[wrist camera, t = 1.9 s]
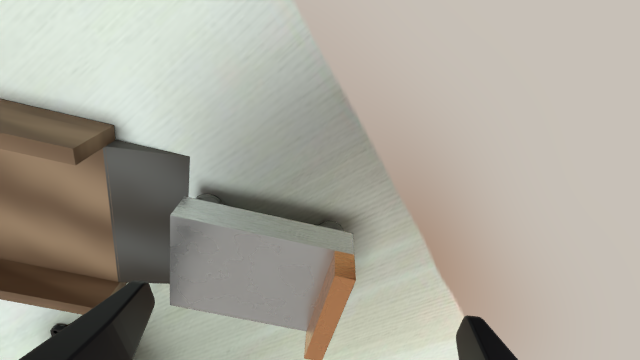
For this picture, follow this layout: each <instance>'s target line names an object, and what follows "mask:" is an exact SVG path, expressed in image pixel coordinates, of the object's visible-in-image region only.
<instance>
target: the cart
mask: <svg viewBox="0 0 640 360" xmlns="http://www.w3.org/2000/svg"><path fill="white" fill-rule="evenodd" d="M355 281H356V275H355V260H354V245H353V233H349V232H344V230H343V228H342V227H341V226H340V225H339V224H338V223H336V222H334V221H326V222H323V223H322V224H320V225H319V226H317V225H312V224H308V223H303V222H298V221H294V220H289V219H285V218H280V217H276V216H271V215H267V214H262V213H258V212H253V211H248V210H244V209H239V208H235V207H230V206H226V205H222V203H221V201H220V199H219V198H218V197H216V196H214V195H212V194H203V195H200V196H198V197H197V198H196V199H194V198H189V197H184V198H183V199H182V200H181V202H180V203H179V204H178V206H177V207H176V208H175V210H174V211H173V212H172V213H171V215H170V305H173V306H178V307H184V308H189V309H194V310H199V311H204V312H209V313H215V314H220V315H225V316H230V317H235V318H241V319H246V320H251V321H256V322H261V323H266V324H272V325H277V326H282V327H287V328H292V329H298V330H303V331H306V342H305V353H304V358H305V359H310V360H322V359H323V357H324V354H325V352H326V350H327V347H328V345H329V343H330V340H331V338H332V336H333V333H334V331H335V328H336V326H337V324H338V321H339V319H340V317H341V314H342V312H343V309H344V307H345V305H346V302H347V300H348V298H349V295H350V293H351V291H352V288H353V286H354V283H355Z"/></svg>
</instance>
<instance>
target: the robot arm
mask: <svg viewBox="0 0 640 360" xmlns="http://www.w3.org/2000/svg"><path fill="white" fill-rule="evenodd" d="M154 303H155V300H154V296H153V293H152V291H151V288H150V285H149V283H148V282H145V281H132V282H130V283H128V284H127V285H125V286H124V287H122V288H121V289H119V290H118V291H117V292H115V293H114V294H112V295H111V296H109V297H108V298H107V299H105V300H104V301H102V302H101V303H99V304H98V305H97V306H95V307H94V308H92V309H91V310H89V311H88V312H87V313H85V314H84V315H82V316H81V317H79V318H78V319H76V320H75V321H74V322H72V323H71V324H69V325H68V326H66V327H65V326H60V325H55V326H54V327H53V328H52V329H51V330H50V332H51V335H52V337H51V338H49V339H48V340H46V341H45V342H44V343H42V344H41V345H39V346H38V347H36V348H35V349H33V350H32V351H31V352H29V353H28V354H26V355H25V356H23V357H22V358H21V359H19V360H132V359H133V357H134V355H135V352H136V350H137V347H138V345H139V343H140V340H141V338H142V335H143V333H144V330H145V328H146V325H147V323H148V320H149V318H150V315H151V313H152V310H153V308H154ZM456 342H457V349H458V356H459V360H518V359H517V358H516V357H515V356H514V354H513V353H512V352H511V351H510V350H509V349H508V348H507V346H506V345H505V344H504V343H503V342H502V341H501V339H500V338H499V337H498V336H497V335H496V334H495V333H494V331H493V330H492V329H491V328H490V327H489V325H488V324H487V323H486V322H485V321H484V320H483V319H481V318H480V317H476V316H465V317H464V318H463V320H462V322H461V325H460V327H459V329H458V331H457V334H456Z"/></svg>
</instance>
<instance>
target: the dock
mask: <svg viewBox="0 0 640 360" xmlns="http://www.w3.org/2000/svg"><path fill="white" fill-rule="evenodd" d="M189 160H190V157H189V156H184V155H180V154H176V153H171V152H167V151H163V150H158V149H154V148H150V147H145V146H141V145H136V144H132V143H128V142H123V141H119V140H115V132H114V125H110V124H106V123H102V122H97V121H93V120H89V119H85V118H80V117H76V116H72V115H67V114H63V113H59V112H55V111H50V110H46V109H42V108H37V107H33V106H29V105H25V104H20V103H16V102H12V101H7V100H3V99H0V299H2V300H7V301H13V302H18V303H24V304H29V305H34V306H40V307H45V308H50V309H56V310H61V311H66V312H72V313H77V314H82V315H84V314H85V313H87V312H88V311H89V310H91V309H92V308H94V307H95V306H97V305H98V304H99V303H101V302H102V301H104V300H105V299H107V298H108V297H109V296H111V295H112V294H114V293H115V292H117V291H118V290H119V289H121V288H122V287H124V286H125V285H126V284H127V282H128V283H130V282H132V281H145V282H148V283H169V284H170V215H171V213H172V212H173V211H174V210H175V208H176V207H177V206H178V204H179V203H180V202H181V200H182V199H183V198H184V197H188V188H189Z"/></svg>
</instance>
